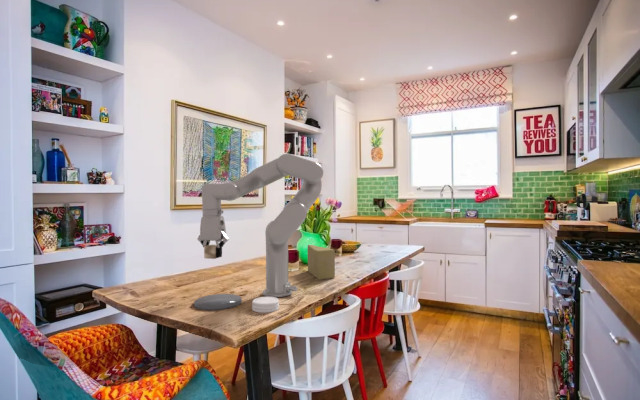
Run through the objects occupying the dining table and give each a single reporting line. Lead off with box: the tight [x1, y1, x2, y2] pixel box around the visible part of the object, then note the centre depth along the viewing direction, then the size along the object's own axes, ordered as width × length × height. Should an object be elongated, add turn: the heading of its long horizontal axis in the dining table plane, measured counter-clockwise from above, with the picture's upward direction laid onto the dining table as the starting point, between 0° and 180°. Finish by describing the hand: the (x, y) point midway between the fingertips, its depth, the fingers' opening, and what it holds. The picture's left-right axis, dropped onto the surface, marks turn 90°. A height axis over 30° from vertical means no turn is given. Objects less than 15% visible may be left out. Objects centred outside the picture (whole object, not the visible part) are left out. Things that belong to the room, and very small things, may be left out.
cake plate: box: [193, 293, 243, 311], centre depth 143 cm, size 18×18×1 cm
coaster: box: [251, 296, 280, 314], centre depth 135 cm, size 10×10×4 cm
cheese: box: [307, 244, 336, 281], centre depth 192 cm, size 22×10×15 cm, turn 26°
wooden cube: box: [203, 244, 223, 260], centre depth 151 cm, size 5×5×5 cm
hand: (213, 256), depth 151 cm, fingers closed on wooden cube, 4 cm apart
